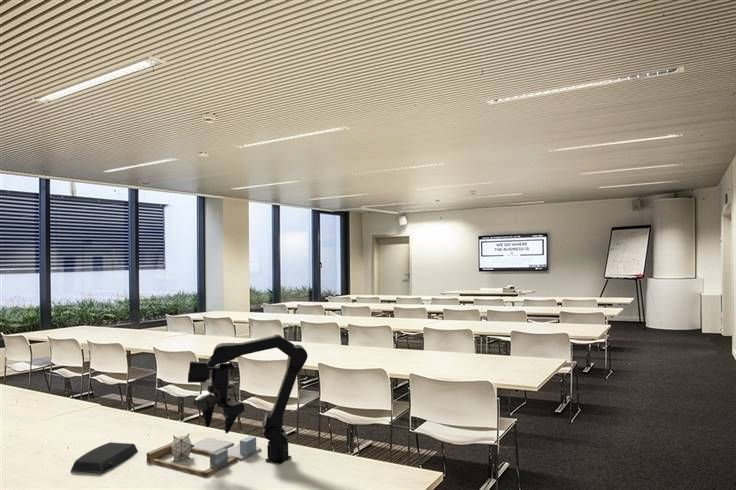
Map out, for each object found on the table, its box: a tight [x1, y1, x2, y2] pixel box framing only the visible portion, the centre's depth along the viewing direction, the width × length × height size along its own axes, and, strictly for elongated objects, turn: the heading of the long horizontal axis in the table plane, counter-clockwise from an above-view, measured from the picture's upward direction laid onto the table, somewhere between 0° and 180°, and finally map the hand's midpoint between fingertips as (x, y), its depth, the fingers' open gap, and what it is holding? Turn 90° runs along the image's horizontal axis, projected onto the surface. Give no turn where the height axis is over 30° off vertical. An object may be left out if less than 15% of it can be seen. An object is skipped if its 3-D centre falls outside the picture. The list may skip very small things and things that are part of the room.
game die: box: [169, 433, 194, 463], centre depth 184 cm, size 9×8×10 cm
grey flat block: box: [191, 435, 262, 461], centre depth 192 cm, size 26×10×6 cm, turn 61°
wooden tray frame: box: [146, 441, 239, 478], centre depth 182 cm, size 28×14×6 cm, turn 61°
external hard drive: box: [70, 441, 139, 475], centre depth 183 cm, size 13×19×4 cm
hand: (217, 429), depth 176 cm, fingers open, 9 cm apart
